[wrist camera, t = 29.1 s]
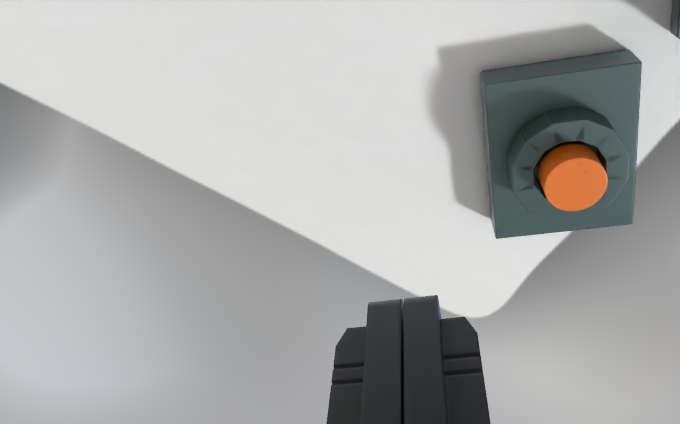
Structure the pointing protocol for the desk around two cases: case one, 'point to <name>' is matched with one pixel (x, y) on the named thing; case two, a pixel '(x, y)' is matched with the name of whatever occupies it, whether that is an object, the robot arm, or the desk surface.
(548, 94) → the control block
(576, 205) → the button
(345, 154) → the desk surface
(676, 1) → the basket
